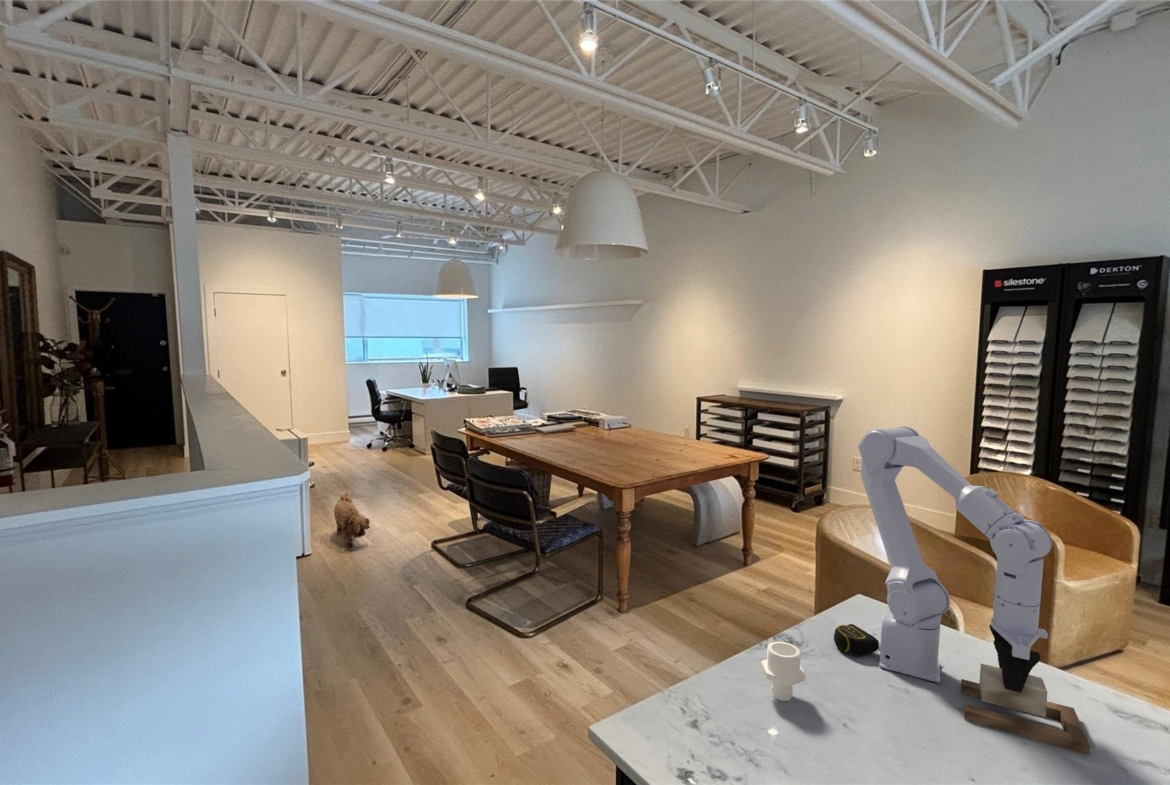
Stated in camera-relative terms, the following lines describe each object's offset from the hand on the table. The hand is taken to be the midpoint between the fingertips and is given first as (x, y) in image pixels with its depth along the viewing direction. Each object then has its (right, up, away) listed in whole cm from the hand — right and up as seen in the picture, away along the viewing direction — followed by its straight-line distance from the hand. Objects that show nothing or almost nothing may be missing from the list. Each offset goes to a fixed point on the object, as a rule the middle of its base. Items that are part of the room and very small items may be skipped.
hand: (1010, 681), depth 90 cm
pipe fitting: (-35, -5, +5) cm, 35 cm away
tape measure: (-15, -4, +20) cm, 26 cm away
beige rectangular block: (0, -3, 0) cm, 3 cm away
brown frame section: (+1, -6, 0) cm, 6 cm away
